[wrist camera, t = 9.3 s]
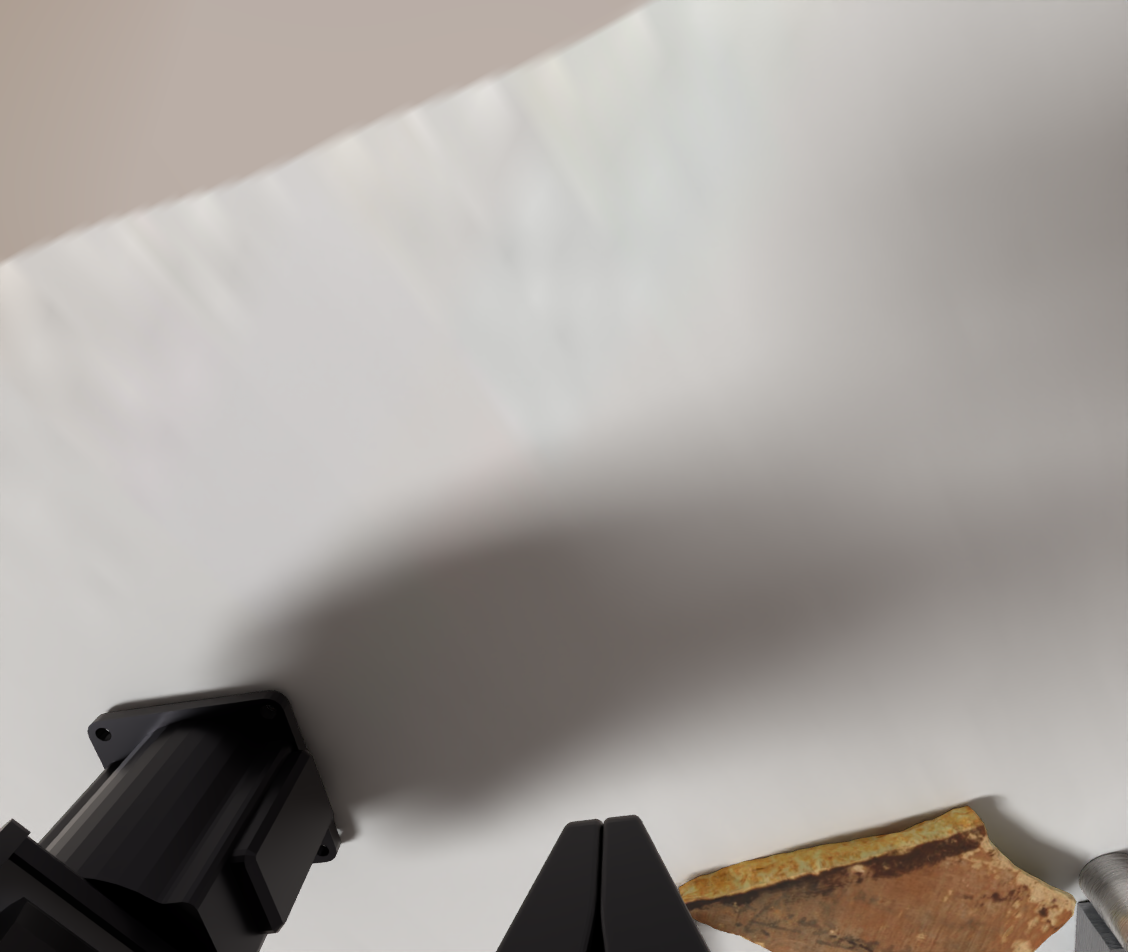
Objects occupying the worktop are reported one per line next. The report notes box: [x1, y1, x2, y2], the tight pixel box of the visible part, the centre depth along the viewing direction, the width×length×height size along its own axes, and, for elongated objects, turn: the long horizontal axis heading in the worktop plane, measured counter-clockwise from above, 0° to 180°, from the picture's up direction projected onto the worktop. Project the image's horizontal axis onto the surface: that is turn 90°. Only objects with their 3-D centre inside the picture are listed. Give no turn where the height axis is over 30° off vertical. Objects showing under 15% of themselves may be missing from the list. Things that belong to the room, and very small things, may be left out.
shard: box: [679, 806, 1076, 952], centre depth 23 cm, size 11×8×2 cm
